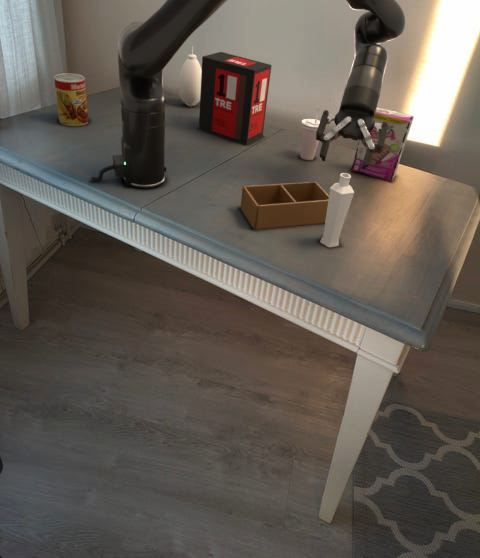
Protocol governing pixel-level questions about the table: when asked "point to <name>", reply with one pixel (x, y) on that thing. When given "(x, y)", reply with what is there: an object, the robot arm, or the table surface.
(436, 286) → the table surface
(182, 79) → the sauce bottle
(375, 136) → the candy bar box
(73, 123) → the canned food
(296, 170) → the table surface
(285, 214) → the divided tray
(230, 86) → the cleaning product box
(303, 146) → the smoothie
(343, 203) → the perfume bottle
